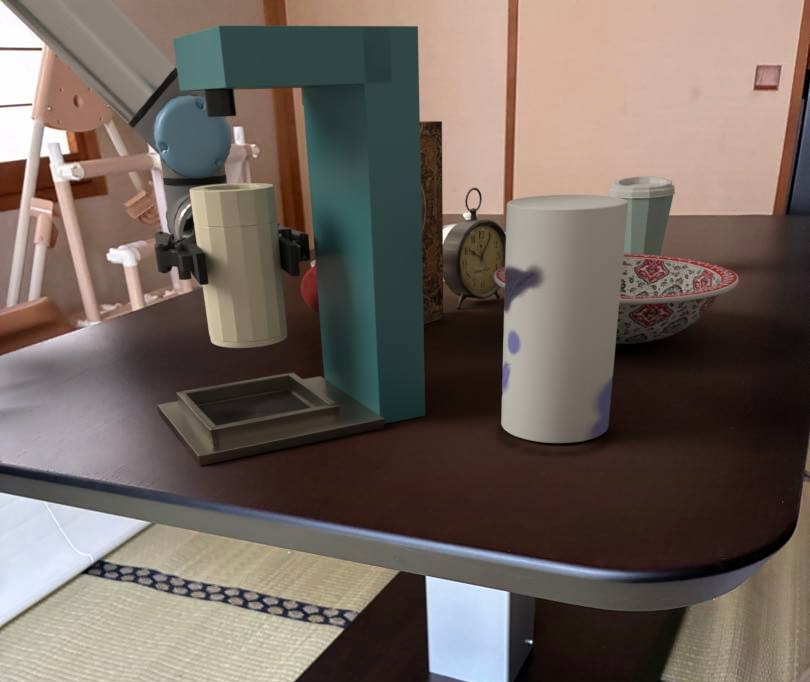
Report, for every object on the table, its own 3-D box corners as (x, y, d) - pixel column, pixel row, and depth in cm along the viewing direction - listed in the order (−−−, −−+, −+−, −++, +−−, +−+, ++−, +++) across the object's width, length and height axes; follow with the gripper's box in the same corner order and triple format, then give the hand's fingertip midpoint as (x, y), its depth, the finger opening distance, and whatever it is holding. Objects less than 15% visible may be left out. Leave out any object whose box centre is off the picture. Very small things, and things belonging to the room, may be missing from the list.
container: (482, 418, 82) (485, 198, 72) (569, 402, 85) (583, 190, 76) (536, 452, 74) (547, 209, 64) (630, 433, 77) (653, 200, 68)
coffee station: (158, 413, 86) (92, 39, 70) (362, 377, 95) (343, 38, 79) (200, 466, 73) (130, 24, 58) (430, 418, 82) (424, 25, 67)
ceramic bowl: (463, 360, 100) (463, 291, 96) (524, 306, 123) (526, 249, 120) (721, 381, 90) (733, 305, 86) (734, 318, 114) (743, 257, 110)
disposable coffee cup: (674, 279, 137) (685, 180, 130) (608, 281, 138) (616, 183, 131) (658, 268, 147) (668, 175, 140) (596, 269, 147) (603, 177, 140)
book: (420, 311, 122) (416, 121, 111) (448, 316, 119) (448, 121, 107) (338, 334, 112) (325, 127, 100) (367, 341, 109) (357, 127, 97)
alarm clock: (459, 312, 121) (459, 192, 114) (434, 307, 125) (432, 189, 117) (511, 300, 128) (514, 185, 120) (485, 295, 131) (487, 183, 124)
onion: (350, 315, 122) (347, 258, 118) (315, 322, 119) (311, 263, 115) (330, 308, 126) (326, 253, 122) (296, 314, 123) (291, 258, 119)
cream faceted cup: (201, 335, 85) (180, 187, 79) (272, 325, 88) (257, 181, 82) (223, 352, 79) (203, 193, 73) (298, 340, 82) (285, 187, 76)
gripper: (303, 259, 100) (359, 295, 81) (124, 275, 94) (139, 318, 75) (298, 191, 96) (355, 213, 77) (111, 203, 90) (124, 230, 71)
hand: (249, 265), depth 76 cm, fingers closed on cream faceted cup, 8 cm apart
